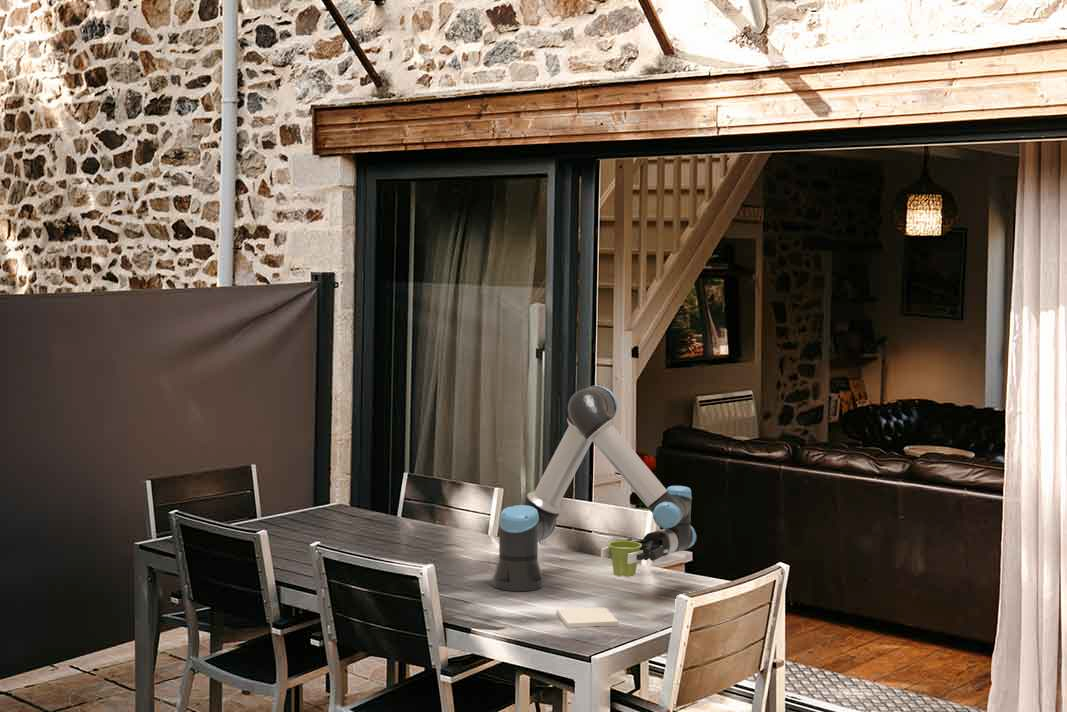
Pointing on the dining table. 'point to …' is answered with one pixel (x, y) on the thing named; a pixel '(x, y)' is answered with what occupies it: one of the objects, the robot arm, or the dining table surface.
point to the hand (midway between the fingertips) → (615, 556)
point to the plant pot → (623, 557)
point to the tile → (587, 617)
